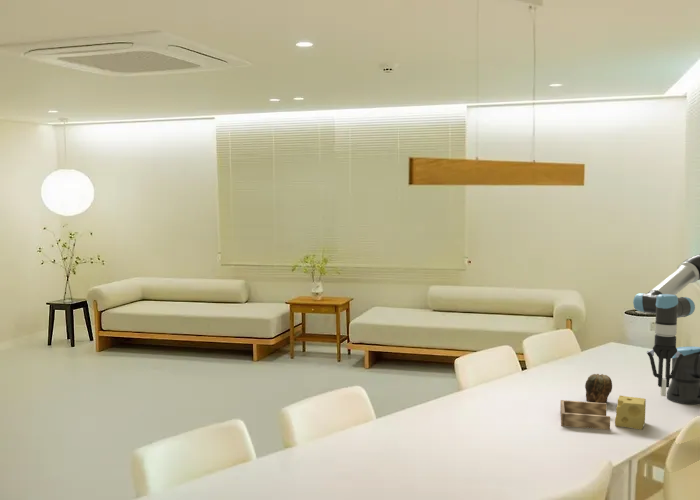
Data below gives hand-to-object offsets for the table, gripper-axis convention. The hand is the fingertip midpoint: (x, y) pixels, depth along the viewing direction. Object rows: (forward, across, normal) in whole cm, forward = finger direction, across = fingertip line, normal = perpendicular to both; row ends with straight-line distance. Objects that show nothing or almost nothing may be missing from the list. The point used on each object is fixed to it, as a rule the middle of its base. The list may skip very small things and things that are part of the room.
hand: (663, 395), depth 270 cm
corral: (+13, +28, 0) cm, 31 cm away
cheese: (+13, +11, 0) cm, 17 cm away
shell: (+13, +21, -29) cm, 38 cm away
